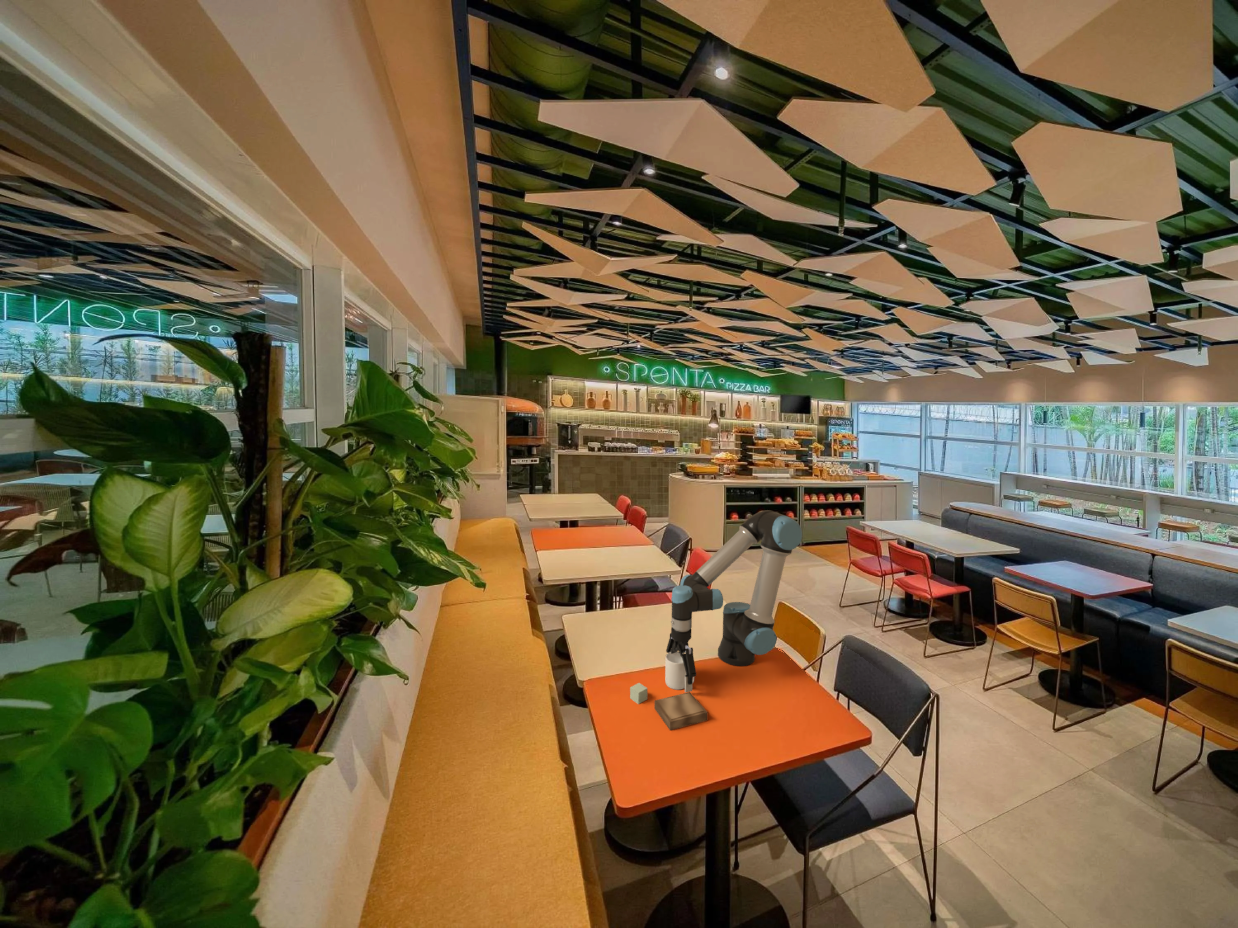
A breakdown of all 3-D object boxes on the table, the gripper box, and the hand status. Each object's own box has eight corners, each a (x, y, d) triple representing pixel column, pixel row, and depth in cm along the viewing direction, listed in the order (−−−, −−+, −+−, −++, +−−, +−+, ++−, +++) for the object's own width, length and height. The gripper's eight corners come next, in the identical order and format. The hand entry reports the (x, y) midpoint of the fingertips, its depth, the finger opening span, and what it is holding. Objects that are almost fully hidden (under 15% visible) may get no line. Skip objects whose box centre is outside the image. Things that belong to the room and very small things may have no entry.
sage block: (638, 693, 172) (639, 682, 171) (647, 699, 169) (647, 687, 168) (630, 698, 169) (630, 687, 169) (638, 704, 166) (638, 692, 165)
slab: (689, 699, 168) (689, 691, 168) (707, 720, 157) (707, 711, 157) (654, 708, 163) (654, 699, 163) (670, 730, 152) (670, 721, 152)
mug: (687, 696, 170) (688, 669, 169) (660, 684, 178) (661, 657, 176) (699, 686, 176) (700, 659, 175) (673, 674, 184) (673, 648, 183)
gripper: (658, 615, 184) (657, 666, 187) (688, 644, 162) (687, 702, 164) (675, 612, 187) (674, 663, 189) (707, 640, 164) (705, 697, 167)
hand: (680, 681), depth 177 cm, fingers open, 12 cm apart
